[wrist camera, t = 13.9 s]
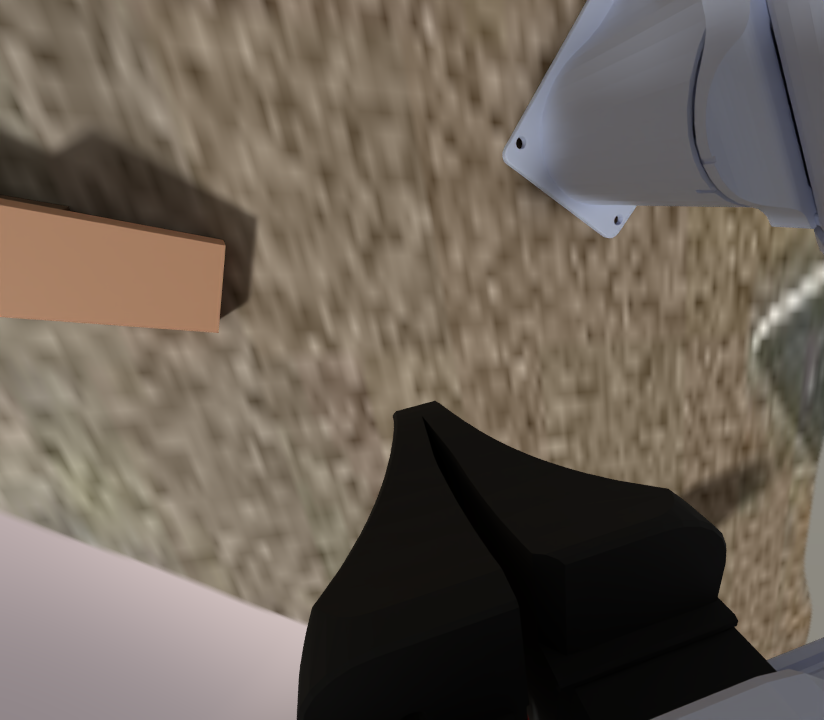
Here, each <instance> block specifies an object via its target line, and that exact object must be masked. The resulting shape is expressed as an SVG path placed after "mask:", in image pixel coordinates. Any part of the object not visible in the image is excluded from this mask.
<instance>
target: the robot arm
mask: <svg viewBox="0 0 824 720" xmlns="http://www.w3.org/2000/svg"><path fill="white" fill-rule="evenodd" d="M518 138H520V139H521V140H522V147H521V148H520V149H518V148H517V146H516V141H517V139H518ZM503 160H504V162H505V163H506V164H507V165H509V166H510V167H511V168H513V169H514V170H515V171H517V172H518V173H519V174H521V175H522V176H523V177H525V178H526V179H527V180H529V181H530V182H531V183H533V184H534V185H535V186H536V187H538V188H539V189H540V190H542V191H543V192H544V193H546V194H547V195H548V196H550V197H551V198H552V199H554V200H555V201H556V202H558V203H559V204H560V205H562V206H563V207H564V208H566V209H567V210H568V211H570V212H571V213H572V214H574V215H575V216H576V217H578V218H579V219H580V220H582V221H583V222H584V223H586V224H587V225H588V226H590V227H591V228H592V229H594V230H595V231H596V232H598V233H599V234H600V235H602V236H603V237H605V238H613V237H615V236H616V235H617V234H618V233H619V231H620V230H621V228H622V227H623V225H624V224H625V222H626V221H627V219H628V218H629V217H630V215H631V214H632V212H633V211H634V209H635V208H636V206H702V207H753V208H756V209H759V210H760V211H762V212H763V213H764V214H765V215H766V216H767V218H768V220H769V222H770V224H771V226H775V227H792V228H810V229H814V228H815V229H814V232H815V236H816V240H817V243H818V246H819V249H820V251H821V252H822V253H823V254H824V0H587V1H586V3H585V5H584V7H583V9H582V10H581V12H580V14H579V16H578V17H577V19H576V21H575V23H574V25H573V26H572V28H571V30H570V32H569V33H568V35H567V37H566V39H565V41H564V42H563V44H562V46H561V48H560V50H559V51H558V53H557V55H556V57H555V58H554V60H553V62H552V64H551V66H550V67H549V69H548V71H547V73H546V74H545V76H544V78H543V80H542V82H541V83H540V85H539V87H538V89H537V90H536V92H535V94H534V96H533V98H532V99H531V101H530V103H529V105H528V106H527V108H526V110H525V112H524V114H523V115H522V117H521V119H520V121H519V123H518V124H517V126H516V128H515V130H514V131H513V133H512V135H511V137H510V139H509V140H508V142H507V144H506V146H505V147H504V150H503ZM616 216H617V217H618V220H617V222H616V223H614V219H615V217H616ZM393 419H394V434H393V442H392V448H391V454H390V458H389V462H388V466H387V470H386V474H385V477H384V480H383V483H382V486H381V489H380V492H379V495H378V497H377V500H376V502H375V505H374V507H373V509H372V511H371V514H370V516H369V518H368V520H367V522H366V524H365V526H364V528H363V530H362V532H361V534H360V536H359V538H358V539H357V541H356V543H355V544H354V546H353V548H352V550H351V551H350V553H349V555H348V556H347V558H346V560H345V562H344V563H343V565H342V566H341V568H340V569H339V571H338V572H337V574H336V575H335V576H334V578H333V579H332V581H331V582H330V584H329V585H328V586H327V588H326V589H325V591H324V592H323V593H322V595H321V596H320V598H319V599H318V600H317V602H316V603H315V604H314V606H313V607H312V610H311V614H310V618H309V623H308V627H307V631H306V636H305V641H304V646H303V652H302V659H301V664H300V672H299V685H298V705H297V720H528V717H529V720H824V638H821V639H818V640H816V641H814V642H811V643H809V644H806V645H803V646H801V647H798V648H796V649H793V650H791V651H788V652H786V653H783V654H781V655H778V656H776V657H773V658H771V659H768V660H766V659H765V658H764V657H763V656H762V655H761V654H760V653H759V652H758V651H757V650H756V649H755V648H754V647H753V646H752V645H751V644H750V643H749V642H748V641H747V640H746V639H745V638H744V637H743V636H742V635H741V634H740V633H739V632H738V631H737V630H736V628H735V626H737V623H738V620H737V618H736V616H735V614H734V613H733V612H732V611H731V610H730V609H729V608H728V607H727V606H726V605H725V604H724V603H723V602H722V601H721V600H720V599H719V598H718V593H719V589H720V585H721V580H722V576H723V572H724V567H725V563H726V543H725V540H724V537H723V535H722V533H721V532H720V531H719V530H718V529H717V528H716V527H715V526H714V525H713V524H712V523H710V522H709V521H708V520H707V519H706V518H705V517H703V516H702V515H701V514H700V513H699V512H697V511H696V510H695V509H694V508H693V507H692V506H690V505H689V504H688V503H686V502H685V501H684V500H683V499H681V498H680V497H679V496H677V495H676V494H675V493H673V492H672V491H671V490H669V489H666V488H660V487H654V486H648V485H642V484H636V483H630V482H623V481H618V480H613V479H609V478H604V477H600V476H596V475H591V474H587V473H583V472H580V471H576V470H572V469H569V468H565V467H562V466H559V465H556V464H553V463H550V462H547V461H544V460H541V459H538V458H536V457H533V456H531V455H528V454H526V453H523V452H521V451H519V450H516V449H514V448H512V447H509V446H507V445H505V444H503V443H501V442H499V441H497V440H495V439H494V438H492V437H490V436H488V435H486V434H484V433H483V432H481V431H479V430H478V429H476V428H475V427H473V426H471V425H470V424H468V423H467V422H465V421H464V420H462V419H461V418H459V417H458V416H456V415H455V414H453V413H452V412H451V411H449V410H448V409H446V408H445V407H444V406H442V405H441V404H440V403H438V402H436V401H432V402H429V403H425V404H421V405H418V406H414V407H410V408H407V409H403V410H399V411H396V412H395V413H394V415H393ZM527 714H528V716H527Z"/></svg>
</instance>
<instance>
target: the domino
mask: <svg viewBox="0 0 824 720" xmlns="http://www.w3.org/2000/svg"><path fill="white" fill-rule="evenodd" d="M225 248H226V245H225V243H224V241H223V240H221V239H215V238H210V237H205V236H199V235H194V234H189V233H183V232H178V231H173V230H167V229H162V228H157V227H151V226H146V225H141V224H135V223H130V222H125V221H119V220H114V219H109V218H103V217H98V216H93V215H87V214H82V213H77V212H71V211H66V210H61V209H55V208H50V207H45V206H39V205H34V204H29V203H23V202H18V201H13V200H7V199H2V198H0V317H9V318H23V319H37V320H50V321H64V322H78V323H92V324H105V325H119V326H133V327H147V328H160V329H174V330H188V331H201V332H215V333H218V330H219V319H220V307H221V295H222V283H223V271H224V260H225Z"/></svg>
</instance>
